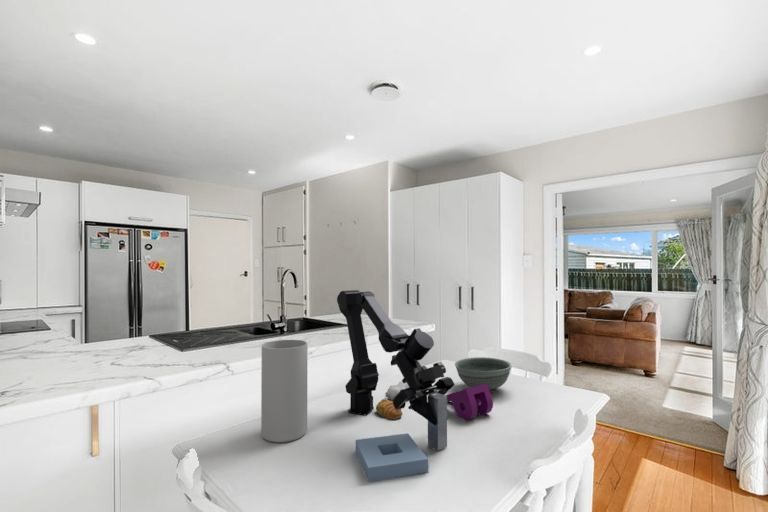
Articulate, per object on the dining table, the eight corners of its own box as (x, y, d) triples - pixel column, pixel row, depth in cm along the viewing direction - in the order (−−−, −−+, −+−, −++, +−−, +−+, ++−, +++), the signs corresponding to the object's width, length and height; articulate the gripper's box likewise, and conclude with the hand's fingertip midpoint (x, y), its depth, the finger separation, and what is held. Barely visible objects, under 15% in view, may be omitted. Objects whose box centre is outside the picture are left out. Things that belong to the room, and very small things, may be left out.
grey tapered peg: (427, 446, 101) (427, 395, 101) (437, 442, 103) (436, 392, 103) (437, 451, 98) (437, 399, 98) (447, 446, 100) (447, 396, 101)
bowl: (519, 398, 137) (519, 370, 137) (460, 398, 137) (459, 370, 137) (502, 381, 157) (502, 356, 158) (450, 381, 158) (450, 356, 158)
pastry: (408, 417, 121) (407, 405, 121) (390, 423, 117) (390, 410, 117) (390, 408, 129) (390, 396, 129) (373, 413, 125) (373, 401, 125)
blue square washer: (355, 451, 98) (355, 439, 98) (407, 444, 102) (407, 433, 102) (368, 481, 85) (368, 467, 85) (428, 472, 89) (428, 458, 89)
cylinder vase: (292, 420, 118) (292, 338, 119) (316, 433, 109) (316, 343, 110) (253, 433, 109) (253, 344, 110) (275, 448, 100) (275, 350, 101)
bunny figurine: (380, 386, 139) (411, 374, 148) (381, 400, 139) (412, 387, 148) (396, 393, 131) (429, 379, 140) (398, 408, 132) (430, 393, 141)
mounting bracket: (438, 426, 128) (475, 418, 115) (430, 399, 131) (465, 389, 118) (458, 419, 134) (496, 411, 120) (451, 394, 137) (487, 383, 123)
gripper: (400, 358, 98) (432, 415, 89) (449, 348, 110) (482, 397, 101) (380, 382, 104) (408, 438, 95) (429, 370, 116) (458, 419, 107)
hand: (441, 422), depth 100 cm, fingers closed on grey tapered peg, 3 cm apart
